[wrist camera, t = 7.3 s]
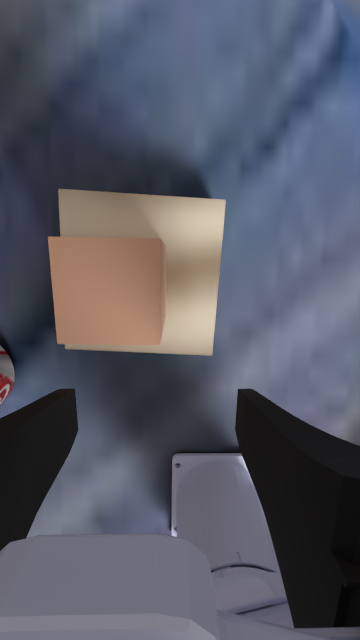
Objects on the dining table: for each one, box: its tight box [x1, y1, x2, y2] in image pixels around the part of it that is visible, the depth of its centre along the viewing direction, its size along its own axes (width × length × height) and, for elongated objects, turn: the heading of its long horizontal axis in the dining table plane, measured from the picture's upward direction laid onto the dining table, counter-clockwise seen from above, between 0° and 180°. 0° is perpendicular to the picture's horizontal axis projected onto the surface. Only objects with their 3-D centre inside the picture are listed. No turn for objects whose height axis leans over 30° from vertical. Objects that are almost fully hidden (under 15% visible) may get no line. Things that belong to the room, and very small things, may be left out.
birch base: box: [58, 189, 226, 356], centre depth 19 cm, size 10×10×4 cm
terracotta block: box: [48, 237, 166, 345], centre depth 14 cm, size 4×4×6 cm
